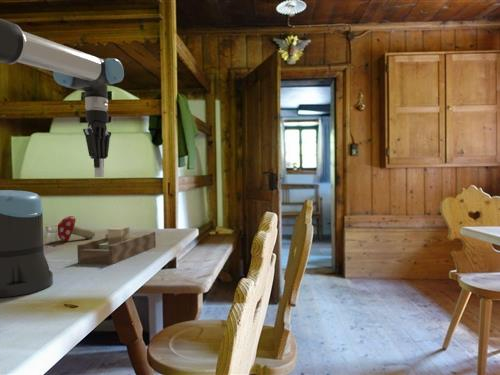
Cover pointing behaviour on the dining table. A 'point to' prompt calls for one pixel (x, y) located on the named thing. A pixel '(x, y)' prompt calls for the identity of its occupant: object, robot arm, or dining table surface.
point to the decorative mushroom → (72, 229)
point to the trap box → (114, 249)
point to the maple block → (118, 235)
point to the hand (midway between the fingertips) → (99, 176)
